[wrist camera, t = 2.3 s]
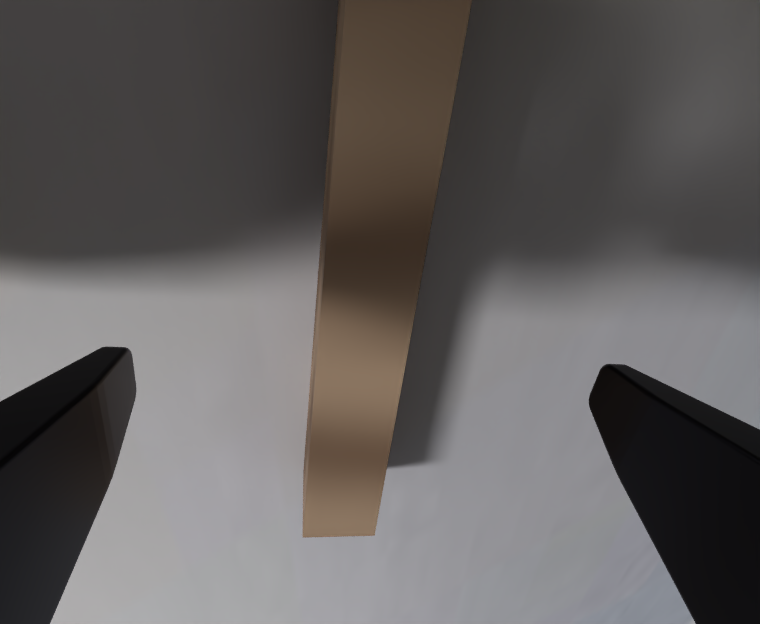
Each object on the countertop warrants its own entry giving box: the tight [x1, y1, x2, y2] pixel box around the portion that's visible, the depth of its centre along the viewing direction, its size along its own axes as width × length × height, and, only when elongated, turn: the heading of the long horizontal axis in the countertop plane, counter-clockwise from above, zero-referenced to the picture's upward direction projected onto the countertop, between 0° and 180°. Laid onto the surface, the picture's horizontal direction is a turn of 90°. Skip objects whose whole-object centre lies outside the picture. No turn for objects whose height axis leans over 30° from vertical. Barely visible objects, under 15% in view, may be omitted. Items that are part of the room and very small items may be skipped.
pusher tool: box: [303, 0, 472, 537], centre depth 12 cm, size 21×7×4 cm, turn 173°
